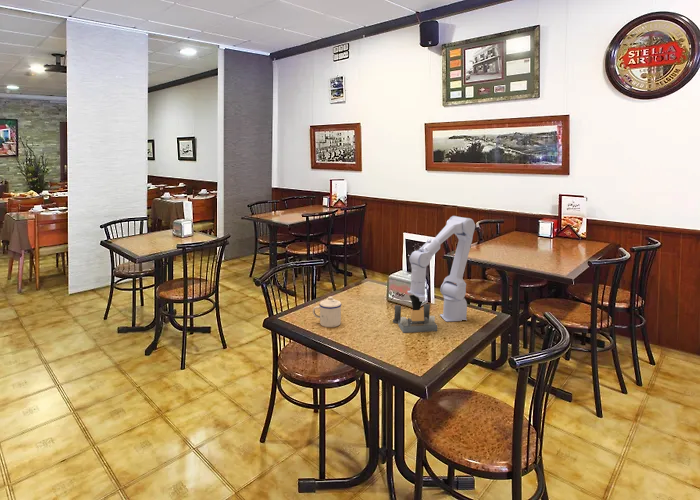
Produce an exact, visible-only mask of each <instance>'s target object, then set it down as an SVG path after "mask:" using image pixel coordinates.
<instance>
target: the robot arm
mask: <svg viewBox="0 0 700 500" xmlns="http://www.w3.org/2000/svg"><path fill="white" fill-rule="evenodd" d="M475 229H476V224H475V221H474V219H472V218H470V217H463V216H462V217H461V216H457V215H452V216H450V217H449V219H447V221H446V224H445V226H444V227H443V228H442V229H441V230H440V231H439V232H438V234H436V236H435V237H434V238H429V239H427V240H426V242H425V243H423V245H421V247H419V249H418V250H414V251H412V252H411V253H410V255H409V257H408V259H409V260H408V261H409V263H410V268H411V275H410V278H411V279H410V287H409V289H410V290H407V294H409V298H410V302H411V307H412V310H421V306H422V305H423V302H425V301H426V291H425V290H426V278H427V277H426V276H427V267H428V266H430V263H431V260H432V258H433V256H434V255H436V253H437V252H438V251H439V250H441V245H442V244H443V243H444V242H445V241H446V240H448V239H449V238H450V237H452V236H453V235H455V236H456V237H457V239H458V240H457V241H458V242H457V245H456V250H455V252H454V257H453V261H452V264H451V269H450V273H449V274H448V275H447V276H445V278H444V279H443V282H442V284H441V285H440V289H439V290H440V293H441V295H442V298H443V310H442V313H440V314H439V316H440V317H441V318H442V319H443V320H444V321H445V322H463V321H462V320H466V321H468V319H467V310H468V302H467V300H466V298H465V296H466V294H467V290H466V289H467V288H466V287H467V283H466V282H465V280H464V279H463V277H464V274H465V273H464V272H465V271H466V269H465V268H466V266H467V262H468V258H469V254H470V252H471V246H472V243H473V236H474V233H475Z"/></svg>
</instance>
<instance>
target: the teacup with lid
mask: <svg viewBox="0 0 700 500" xmlns="http://www.w3.org/2000/svg"><path fill="white" fill-rule="evenodd" d="M341 306H342V302H341V301H340V300H338V299H335V298H334V297H333V296H328V297H327V298H325V299H324V300H322V301H320V302H319V305H317V306H314V307H313V308H312V314H313V315H314V317H315V318H317V319H319V320H320V322H319V324H320V326H322V327H324V328H335V327H338V326H340V325H341V324H342V307H341ZM317 309H319V315H318V314H317V313H316V312H315V310H317Z"/></svg>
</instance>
